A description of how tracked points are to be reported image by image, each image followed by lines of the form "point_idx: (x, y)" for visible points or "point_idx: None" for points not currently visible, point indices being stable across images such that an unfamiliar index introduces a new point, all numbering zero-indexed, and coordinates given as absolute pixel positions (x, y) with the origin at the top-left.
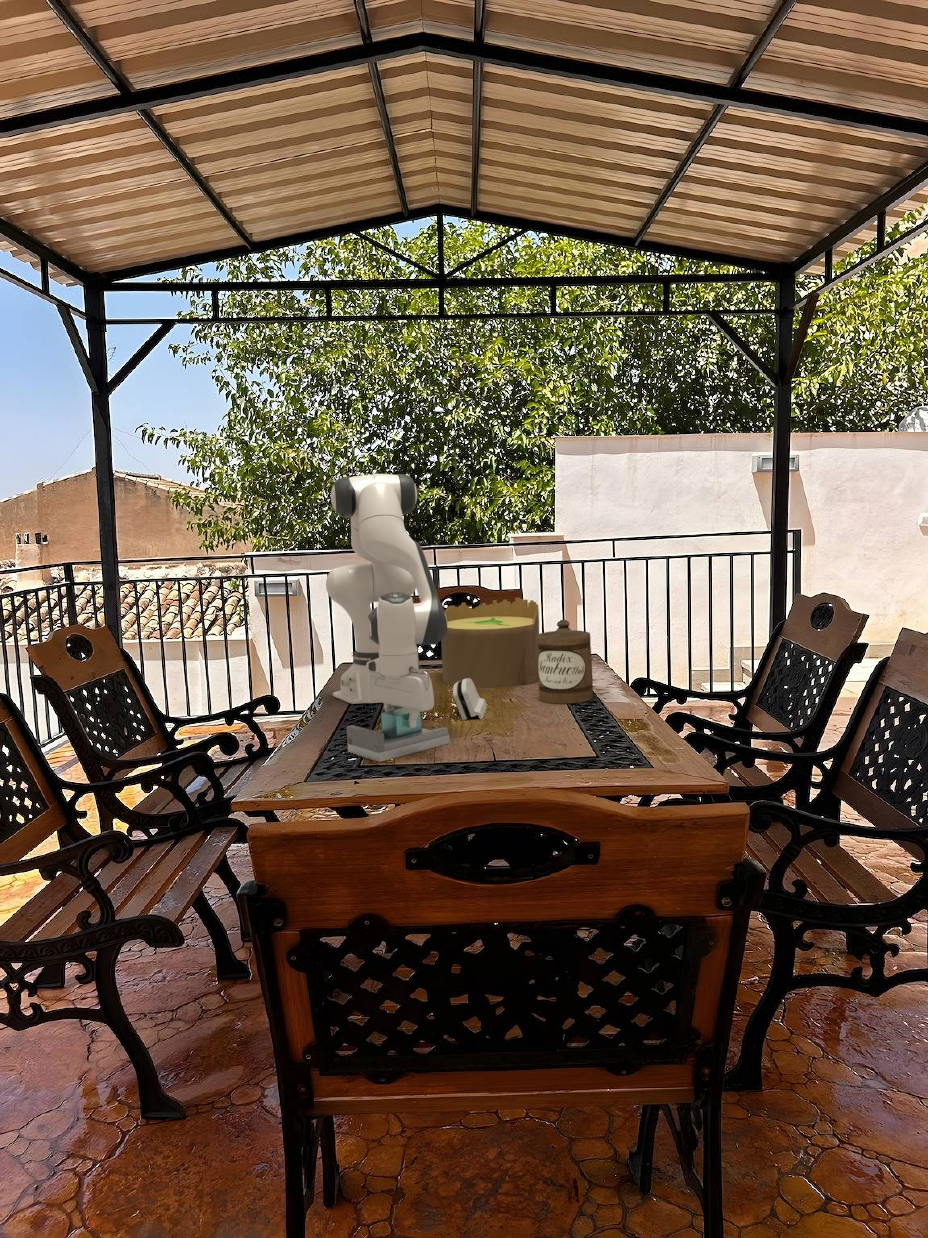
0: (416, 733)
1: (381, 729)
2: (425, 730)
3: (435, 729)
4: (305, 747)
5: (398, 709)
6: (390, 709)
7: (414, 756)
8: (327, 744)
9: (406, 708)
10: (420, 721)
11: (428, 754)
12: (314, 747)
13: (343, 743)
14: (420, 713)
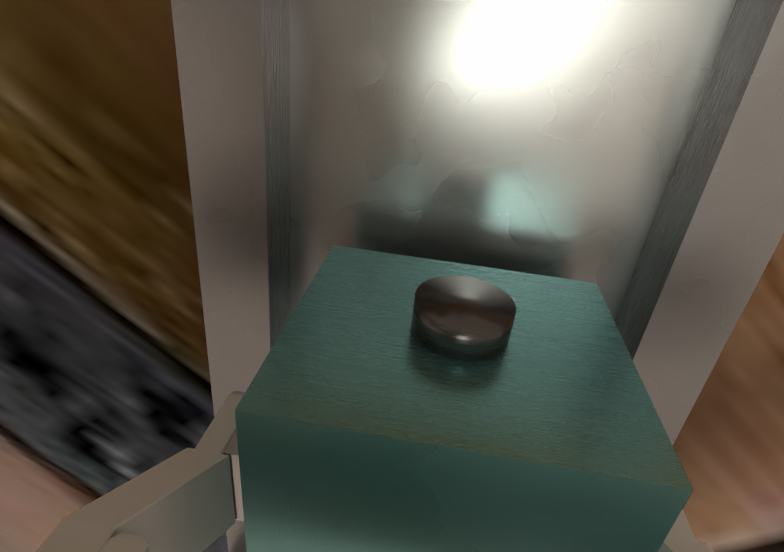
0: (428, 172)
1: (214, 408)
2: (419, 3)
3: (745, 156)
4: (27, 520)
5: (271, 535)
6: (162, 543)
7: (686, 438)
8: (36, 455)
9: (318, 456)
10: (629, 365)
11: (769, 369)
12: (53, 507)
13: (70, 412)
14: (670, 445)
